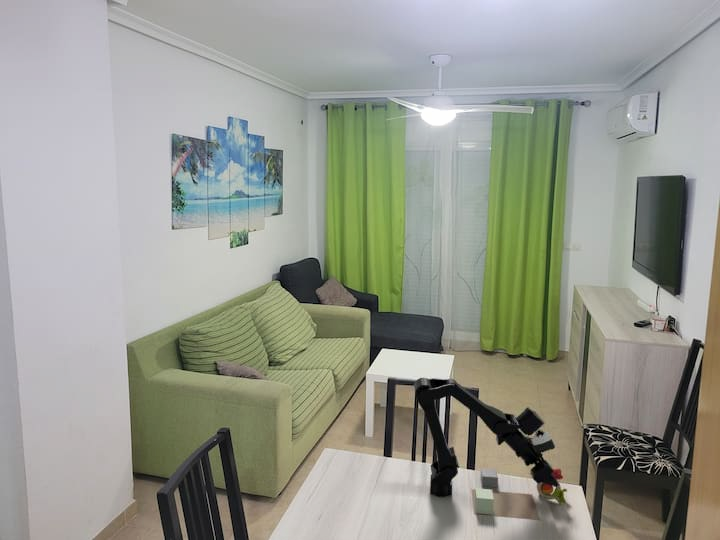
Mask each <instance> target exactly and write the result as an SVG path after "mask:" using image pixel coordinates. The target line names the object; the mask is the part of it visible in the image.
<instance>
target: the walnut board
mask: <svg viewBox="0 0 720 540" xmlns="http://www.w3.org/2000/svg"><path fill="white" fill-rule="evenodd" d="M492 492H493V498H494V505H493V515H492V514H481V513H476V511H475V489H474V488H473V489H471V497H472V498H471V499H472V507H473V514H474V515H482V516H489V517H491V516H492V517H502V518H503V517H504V518H511V519H512V518H514V519H524V520H534V521H535V520H536V521H541V518H540V515H539V512H538V508H537V505H536V502H535V499H534V495H533V494H531V493H521V492H509V491H497V490H496V491H495V490H492Z"/></svg>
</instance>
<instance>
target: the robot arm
mask: <svg viewBox="0 0 720 540" xmlns="http://www.w3.org/2000/svg"><path fill="white" fill-rule="evenodd" d="M413 386H414V396H415V398H416V400H417V402H418V404H419V407H420V408H421V409H422V411H423V413H424V415H425V418H426V421H427V424H428V427H429V431H430V434H431V438H432V441H433V443H434V447H435V449H436V452H435V453H436V460H435V461H433V463H431V464H430V471H431V474H430V478H429V479H430V481H429V482H430V483H429V484H430V485H429V494H430V495H433V496H435V497H437V498H445V497H450V496H453V479H454V478H455V477H456V476H458V473H459V471H458V469H459V468H460V465H459V461H458V457H457V455H456V452H455V448H454V446H452V447H449V445H448V444H447V441H446V437H445V433H444V430H443V428H442V424H441V421H440V418H439V413H438V412H437V411H438V410H437V407H436V400H440V399H444V398H447V397H452V398H453V399H455V400H456V401H458V403H460V404H462V405H463V406H464V407H465V408H467V409H468V410H470V411H471V412H472V413H474V414H475V415H476V416H477V417H479V419H480V420H481V421H482V422H483V423H484V424H485V425H486V427H487V428H488V429H489V430H490V431H491V432H492V433H493V434H494V435H495V441H496V443H497V445H498V446H501V445H502V444H503V443H506V445H507V446H509V448H510V449H511V450H512V451H514V453H515V456H517V458H520V459H521V460H523V463H524V464H525V466H526V467H529V466H531V465H534V466H533V467H532V468H530V476H531V477H532V479H533V481H534V482H535V483H536V484H537V483H540V482H542V483H546V484H549V485H552V486H555V488H556V487H557V486H558V485H559V484H560V483H559V484H558V482H559V481H558V480H557V481H558V482H557V481H556V479H555V478H554V476H553V475H552V472H553V469H554V468H552V467H553V466H552V465H551V464H550V463H549V462H548V460H546V459H545V458H544V457H543V456H544V454H543V453H545V452H547V451H550V450H554V449H556V446H555V443H554V441H553V439H552V437H551V435H550V433H549V432H547V431H545V432H544V430H542V429H541V428H542V427H543V426H544V425H545V424H546V423H545V421H544V420H543V419H542V418H541V416H539V413H537V412H536V411H534V410H533V409H531V408H530V407H529V406H527V407H526V408H525V409H523V411H522V412H521V413H520V414H519V415H518V416H516V415H515V414H514V413H512V414H511V413H507V412H504V411H502V410H500V409H498V408H496V407H494V406H491V405H488V404H486V403H484V402H483V401H482V400H481V399H479V398H478V397H476V396H475V395H474V394H472V393H471V392H470V391H468V389H466V388H465V387H464V386H462V385H461V384H460V383H459V382H457V380H455V379H454V378H436V377H435V378H427V377H420V378H418V379H416V381H415V382H414V384H413ZM533 434H534V436H533V437H530V436H532V435H533ZM525 435H526V436H525Z"/></svg>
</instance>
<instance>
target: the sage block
mask: <svg viewBox="0 0 720 540" xmlns="http://www.w3.org/2000/svg"><path fill="white" fill-rule="evenodd" d="M492 491H493V489H487V488H476V487H475V511H476V513H481V514H492V515H493V505H494V498H493V492H492Z"/></svg>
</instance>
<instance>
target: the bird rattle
mask: <svg viewBox="0 0 720 540" xmlns="http://www.w3.org/2000/svg"><path fill="white" fill-rule="evenodd" d="M552 469H553V472H552V475H553V476H554V478H555V479H556V481H557V482H558V484H559V485H558V486H557V487H555V486H552V485H549V484H546V483H542V482H540V483H536V490H537V493H538V495H539V496H541V497H544V498H546V500H548V501H549V500H554V499H555V500H556V499H557V503H558V504H560V505H563V504H566V503H567V501H566V499H565V493H567V492H568V489H567V488H562V487H561V483H560V482H559V481H558V480H563V478H564V476H563V475H562V470H561V468H557V469H555V468H552ZM554 487H555V488H554ZM564 492H565V493H564Z"/></svg>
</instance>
